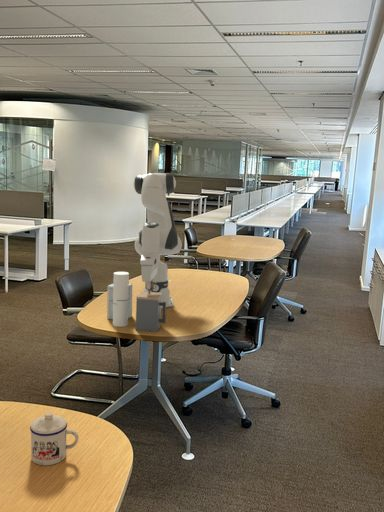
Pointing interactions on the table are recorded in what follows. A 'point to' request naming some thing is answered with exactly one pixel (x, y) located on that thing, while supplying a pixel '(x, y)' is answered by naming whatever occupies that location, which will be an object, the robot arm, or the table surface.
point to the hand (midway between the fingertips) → (149, 287)
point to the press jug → (149, 311)
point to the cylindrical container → (120, 299)
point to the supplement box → (110, 301)
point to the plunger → (150, 288)
